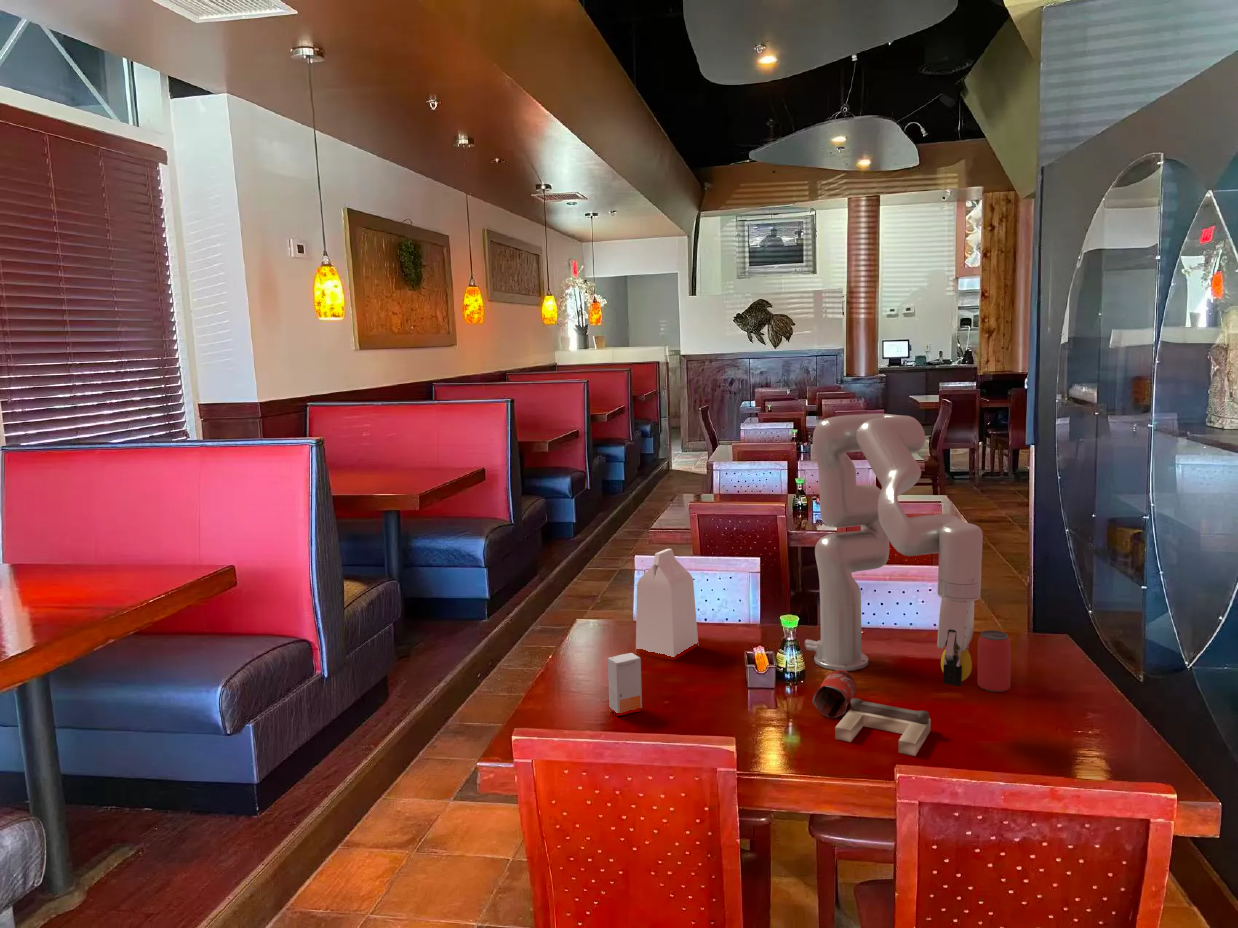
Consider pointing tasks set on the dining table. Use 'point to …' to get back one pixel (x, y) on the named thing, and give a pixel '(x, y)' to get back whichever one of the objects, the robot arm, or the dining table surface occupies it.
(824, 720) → the dining table surface
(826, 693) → the beverage can
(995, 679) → the beer can
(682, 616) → the milk
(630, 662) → the skincare box
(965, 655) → the lemon
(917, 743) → the beige u-shaped frame
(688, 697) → the dining table surface
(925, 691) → the dining table surface
